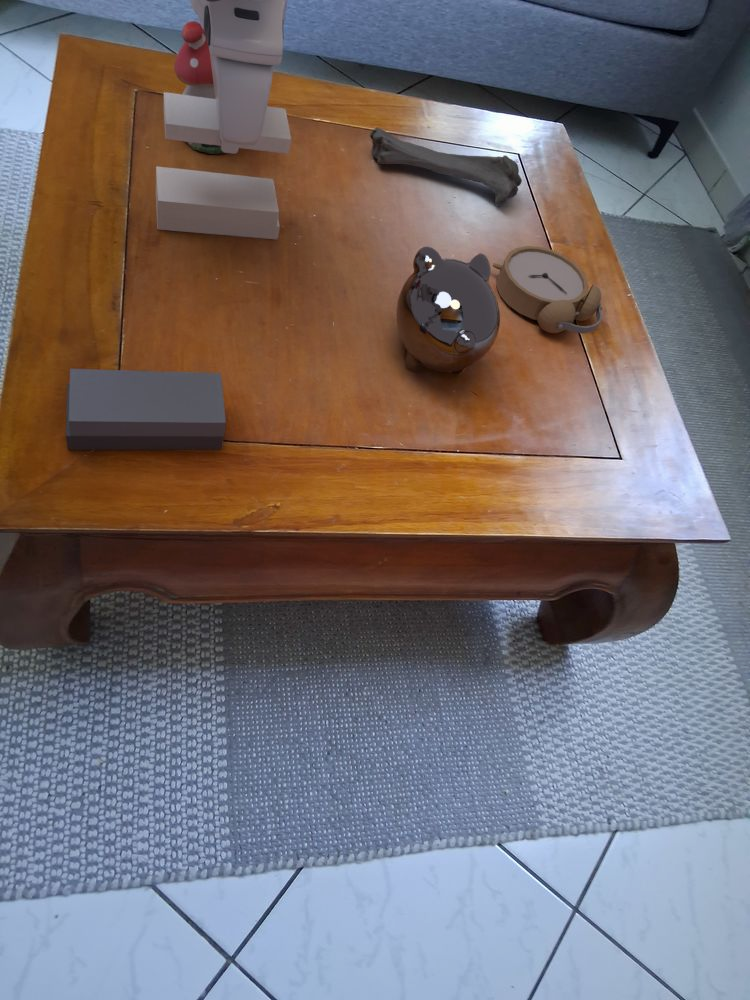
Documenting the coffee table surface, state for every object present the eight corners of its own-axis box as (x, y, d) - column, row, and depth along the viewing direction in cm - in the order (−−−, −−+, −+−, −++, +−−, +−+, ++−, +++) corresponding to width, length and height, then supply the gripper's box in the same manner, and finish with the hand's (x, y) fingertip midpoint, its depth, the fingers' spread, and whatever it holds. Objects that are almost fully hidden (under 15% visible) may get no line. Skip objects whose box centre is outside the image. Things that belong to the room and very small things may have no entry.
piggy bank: (463, 309, 94) (498, 234, 85) (486, 405, 86) (528, 334, 77) (376, 300, 91) (403, 221, 82) (392, 398, 83) (424, 323, 74)
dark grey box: (67, 450, 70) (63, 421, 66) (68, 398, 73) (65, 368, 69) (222, 449, 74) (226, 422, 71) (217, 401, 77) (221, 372, 74)
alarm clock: (542, 236, 101) (630, 295, 95) (531, 268, 105) (615, 327, 98) (484, 258, 96) (573, 322, 89) (475, 291, 99) (560, 355, 93)
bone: (512, 189, 111) (530, 152, 106) (512, 216, 107) (530, 179, 102) (367, 143, 108) (378, 103, 103) (361, 170, 104) (372, 128, 99)
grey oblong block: (157, 229, 88) (157, 200, 85) (155, 195, 91) (156, 166, 88) (277, 239, 92) (282, 212, 89) (272, 206, 95) (276, 179, 92)
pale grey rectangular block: (165, 139, 79) (165, 123, 77) (163, 107, 82) (163, 91, 80) (288, 154, 83) (291, 139, 81) (283, 123, 86) (285, 108, 84)
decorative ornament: (176, 154, 96) (181, 32, 84) (166, 122, 99) (169, -1, 86) (248, 156, 99) (263, 39, 87) (236, 124, 102) (249, 7, 90)
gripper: (198, -69, 75) (190, 69, 86) (212, 48, 65) (202, 187, 76) (262, -56, 77) (246, 77, 88) (285, 59, 67) (265, 193, 78)
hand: (226, 129), depth 82 cm, fingers closed on pale grey rectangular block, 5 cm apart
